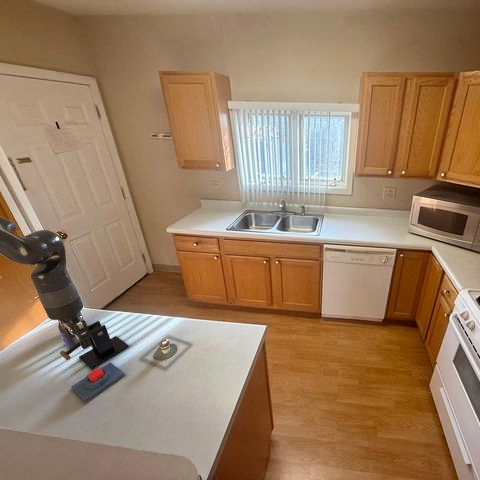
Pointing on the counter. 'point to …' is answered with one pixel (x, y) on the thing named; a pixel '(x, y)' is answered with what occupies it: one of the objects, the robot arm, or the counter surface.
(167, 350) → the brass knob on disc
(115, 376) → the button box
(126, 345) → the bracket
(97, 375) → the button
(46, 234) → the robot arm
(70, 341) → the leaning round-cornered charcoal block
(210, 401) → the counter surface
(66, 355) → the lever
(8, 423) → the counter surface
